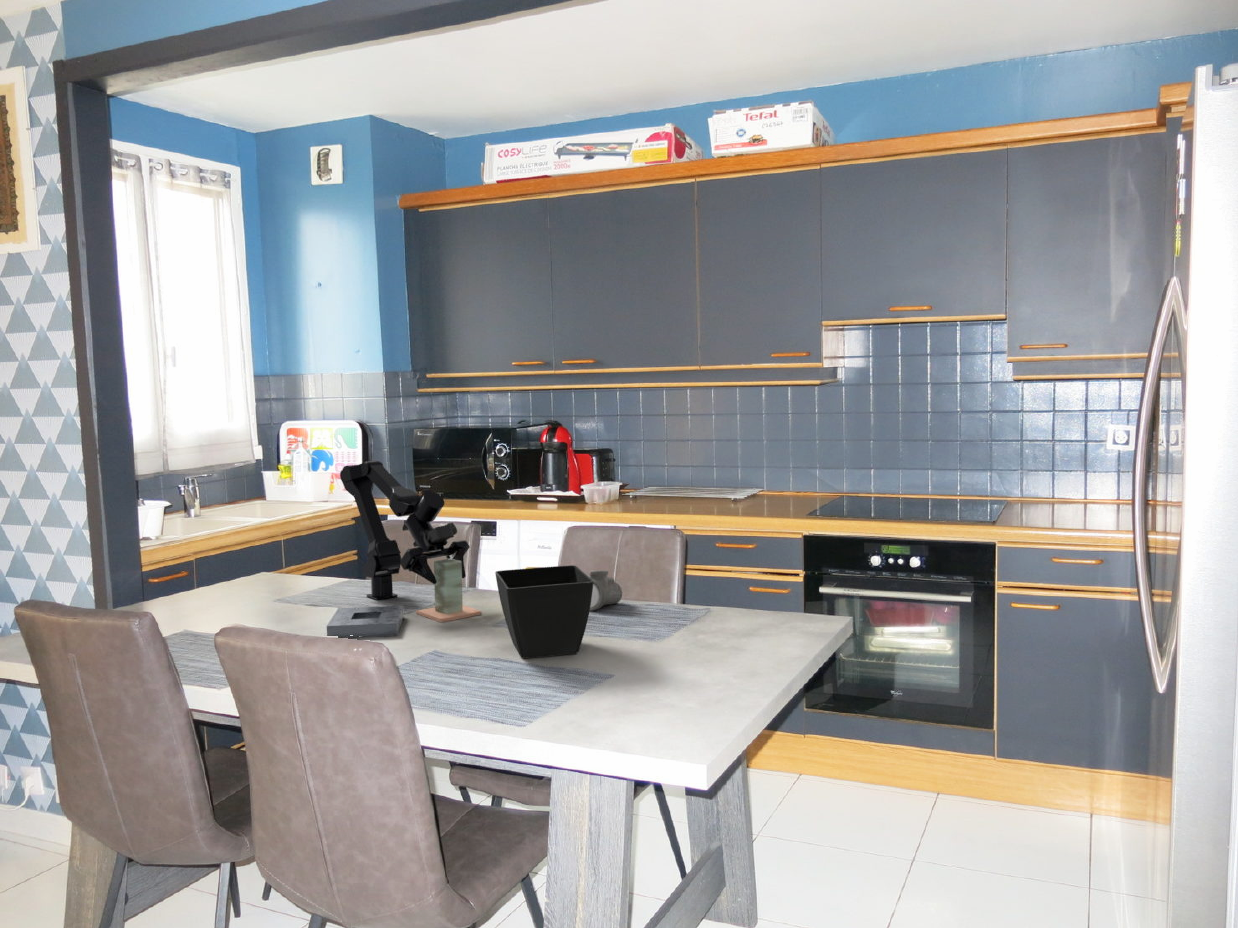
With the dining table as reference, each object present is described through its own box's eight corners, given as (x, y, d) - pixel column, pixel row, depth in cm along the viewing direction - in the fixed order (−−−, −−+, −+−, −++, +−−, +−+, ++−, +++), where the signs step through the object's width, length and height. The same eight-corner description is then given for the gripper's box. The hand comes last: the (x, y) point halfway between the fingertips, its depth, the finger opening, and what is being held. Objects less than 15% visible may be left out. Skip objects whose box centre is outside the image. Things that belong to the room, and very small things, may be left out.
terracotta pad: (416, 613, 251) (416, 610, 251) (456, 606, 259) (456, 603, 259) (441, 622, 242) (441, 619, 242) (481, 614, 250) (481, 611, 250)
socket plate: (338, 619, 245) (338, 608, 245) (403, 617, 247) (403, 605, 247) (327, 638, 228) (326, 625, 227) (396, 635, 230) (396, 623, 229)
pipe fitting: (599, 611, 250) (599, 571, 250) (575, 610, 255) (575, 570, 255) (628, 608, 259) (628, 569, 260) (604, 606, 264) (604, 568, 265)
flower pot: (508, 664, 206) (507, 586, 204) (495, 641, 224) (494, 569, 222) (595, 657, 211) (595, 581, 209) (576, 635, 229) (575, 564, 227)
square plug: (435, 611, 250) (433, 561, 249) (450, 607, 254) (449, 558, 253) (446, 614, 247) (445, 563, 246) (462, 610, 251) (461, 560, 249)
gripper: (405, 517, 244) (433, 566, 238) (464, 509, 258) (492, 555, 252) (388, 545, 250) (415, 593, 244) (446, 535, 264) (473, 581, 258)
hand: (450, 580), depth 249 cm, fingers open, 9 cm apart
